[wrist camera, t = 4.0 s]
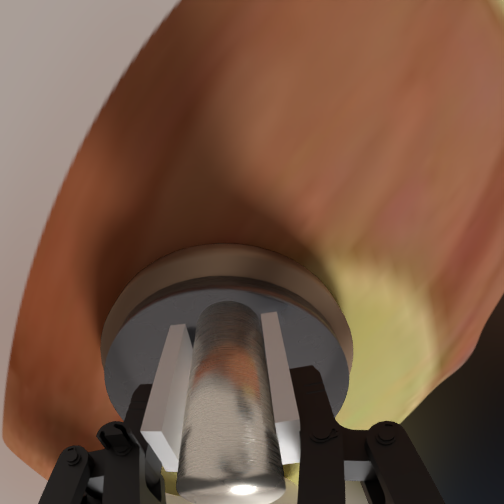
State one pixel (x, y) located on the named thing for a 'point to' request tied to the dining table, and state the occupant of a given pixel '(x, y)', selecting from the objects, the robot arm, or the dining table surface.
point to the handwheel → (226, 378)
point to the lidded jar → (288, 494)
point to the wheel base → (227, 264)
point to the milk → (175, 499)
